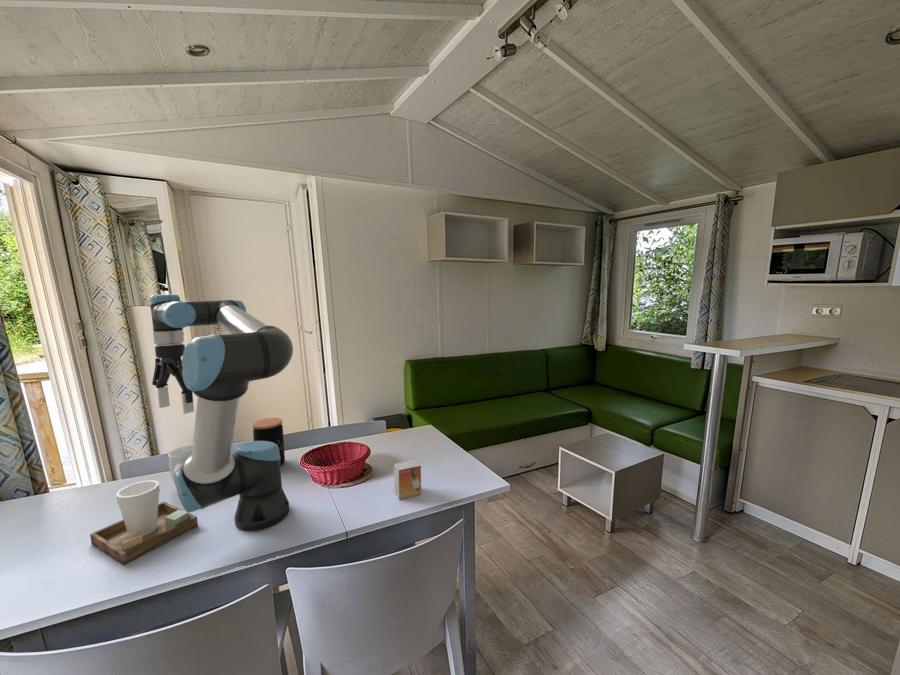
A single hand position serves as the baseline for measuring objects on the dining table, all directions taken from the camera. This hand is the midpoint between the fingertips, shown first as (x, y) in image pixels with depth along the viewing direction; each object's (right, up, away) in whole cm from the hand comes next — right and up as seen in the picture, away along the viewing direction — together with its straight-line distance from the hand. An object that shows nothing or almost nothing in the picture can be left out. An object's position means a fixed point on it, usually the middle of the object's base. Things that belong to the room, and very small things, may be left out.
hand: (176, 409), depth 120 cm
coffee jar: (+16, -28, +30) cm, 44 cm away
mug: (-6, -30, +14) cm, 34 cm away
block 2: (+8, -33, -10) cm, 35 cm away
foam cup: (-1, -33, -12) cm, 35 cm away
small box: (+73, -31, +8) cm, 80 cm away
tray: (+1, -33, -13) cm, 36 cm away
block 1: (+3, -34, -20) cm, 39 cm away
